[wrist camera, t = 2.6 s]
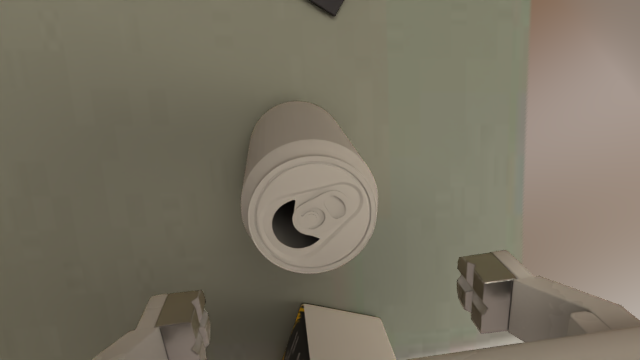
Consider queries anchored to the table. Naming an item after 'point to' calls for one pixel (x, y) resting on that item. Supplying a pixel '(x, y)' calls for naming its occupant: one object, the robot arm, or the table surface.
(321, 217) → the beverage can
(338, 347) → the medicine bottle
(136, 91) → the table surface
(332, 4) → the mat
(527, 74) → the table surface
